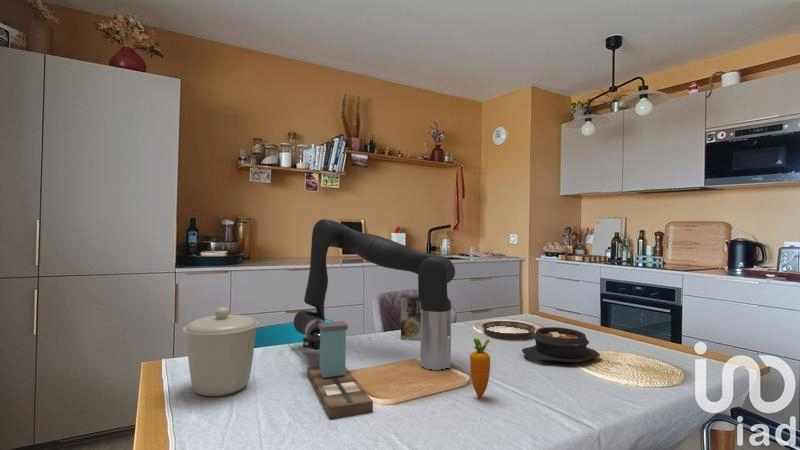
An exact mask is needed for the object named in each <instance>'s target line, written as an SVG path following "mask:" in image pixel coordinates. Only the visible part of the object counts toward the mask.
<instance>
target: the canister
mask: <svg viewBox="0 0 800 450" xmlns="http://www.w3.org/2000/svg"><path fill="white" fill-rule="evenodd" d="M259 325H260V322H259V320H256V319H254V317H252V316H249V315H243V314H231V313H230V309H229V307H226V306H219V307H218V308H216V309H215V311H214V315H211V316H210V315H208V316H205V317H201V318H197V319H195V320H193V321H191V322H189V323H188V324H186V325H185V326H183V327H182V332H183V333H184V334H185V342H186V343H185V344H186V349H187V350H186V351H187V359H188V367H189V368H188V369H189V374H190V375H189V376H190V381H191V385H192V388H193V391H195V392H196V393H197V394H199V395H201V396H204V397H221V396H227V395H230V394H231V395H232V394H234V393H237V392H239V391H241V390H243V389H244V388H245V387H246V386H247V385H248V383H249V380H250V377H251V373H252V366H253V358H254V349H255V345H256V344H255V342H256V334H257V328H258V327H259Z"/></svg>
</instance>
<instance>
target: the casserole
mask: <svg viewBox="0 0 800 450" xmlns="http://www.w3.org/2000/svg"><path fill="white" fill-rule="evenodd" d="M532 337H533V339H534V340H535V345H533V346H527V347H524V348H522V349H521V352H522V354H524V355H526V356H527V357H530V358H532V359H534V360H538V361H539V360H540V361H549V362H552V363H553V362H554V363H559V364H575V363H580V362H581V363H582V362H586V361H588V360H589V361H590V360H591V359H593V358H594V359H595V358H598V357H600V356H601V354H600V352H598V351H597V350H595V349H593V348H590V347H587V346H589V344H590V341H589V340H588V338H587V335H586V334H585V333H584V332H582V331H579V330H575V329H572V328H566V327H555V326H551V327H541V328H540V327H539V328H536V330H535V334H533V336H532Z"/></svg>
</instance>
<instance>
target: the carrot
mask: <svg viewBox="0 0 800 450" xmlns="http://www.w3.org/2000/svg"><path fill="white" fill-rule="evenodd" d="M473 342H474V345H475V346H473V347H474V348H473V349H475V350H474V351H473V352H471V353H470V355H469V366H470V367H469V368H470V377H471V383H472V385H473V386H472V387H473V390H474V392H475V393H476V396H477V398H479V399H481V398H482V397H483V396H484V394H485V392H486V390H487V388H488V384H489V379H490V371H491V356H490V355H489V353H488V352H487V351H485V349H486V348H487V345H489V342H490V339H488V338H487V339H486V340H485V341H484V343H483V345H482V342H481V340H480V338H477V337H474V338H473Z"/></svg>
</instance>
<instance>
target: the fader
mask: <svg viewBox="0 0 800 450" xmlns="http://www.w3.org/2000/svg"><path fill="white" fill-rule="evenodd" d="M325 322H326V323H318V328H319V329H320V350H319V366H320V374H321V376H322V377H323V378H325V377H333V376H340V375H345V367H346V357H347V356H346V354H347V353H346V349H347V347H346V346H347V345H346V341H347V340H346V339H347V337H346V336H347V332H346V331H347V330H348V328H349V327H348V324H347V323H346V322H344V320H339V321H328V322H327V321H325Z"/></svg>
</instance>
